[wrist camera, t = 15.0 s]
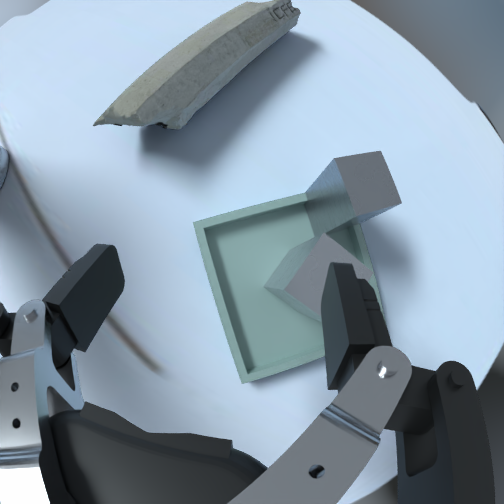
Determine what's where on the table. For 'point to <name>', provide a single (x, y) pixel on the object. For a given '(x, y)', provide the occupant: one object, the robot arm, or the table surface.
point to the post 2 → (310, 273)
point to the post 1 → (350, 193)
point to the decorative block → (201, 66)
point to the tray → (254, 278)
